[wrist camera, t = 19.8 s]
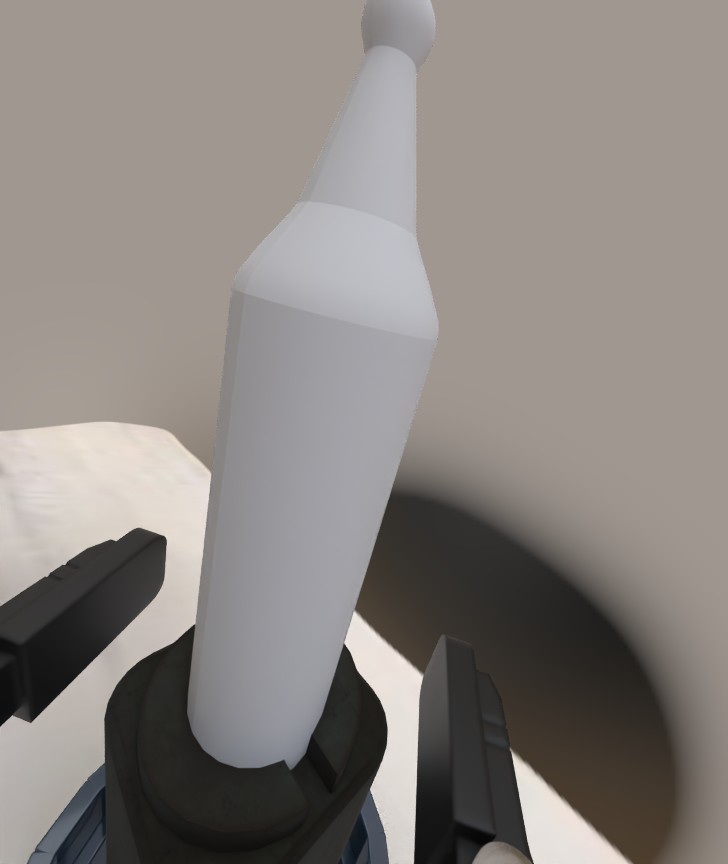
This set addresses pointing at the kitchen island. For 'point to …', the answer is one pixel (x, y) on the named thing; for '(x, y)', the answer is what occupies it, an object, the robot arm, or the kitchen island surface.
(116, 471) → the kitchen island surface
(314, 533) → the candle
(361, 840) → the bowl
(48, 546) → the kitchen island surface
